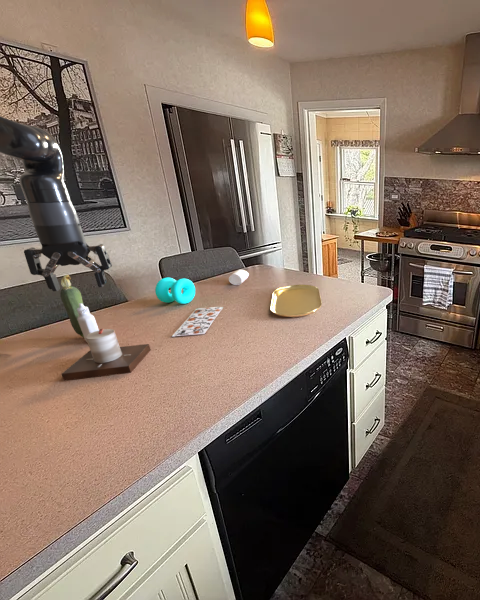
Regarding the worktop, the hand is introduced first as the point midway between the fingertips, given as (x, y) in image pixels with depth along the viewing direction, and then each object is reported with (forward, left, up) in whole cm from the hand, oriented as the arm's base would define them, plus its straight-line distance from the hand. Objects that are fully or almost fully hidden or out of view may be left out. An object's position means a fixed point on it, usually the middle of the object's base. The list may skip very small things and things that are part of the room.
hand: (80, 288), depth 80 cm
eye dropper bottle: (-10, +15, -21) cm, 28 cm away
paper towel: (+17, +23, -21) cm, 35 cm away
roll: (+23, +68, -21) cm, 75 cm away
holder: (+2, -2, -21) cm, 21 cm away
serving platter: (+49, +34, -21) cm, 63 cm away
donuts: (+4, +44, -21) cm, 49 cm away
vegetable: (-14, +19, -21) cm, 32 cm away
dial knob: (+2, -2, -19) cm, 19 cm away
